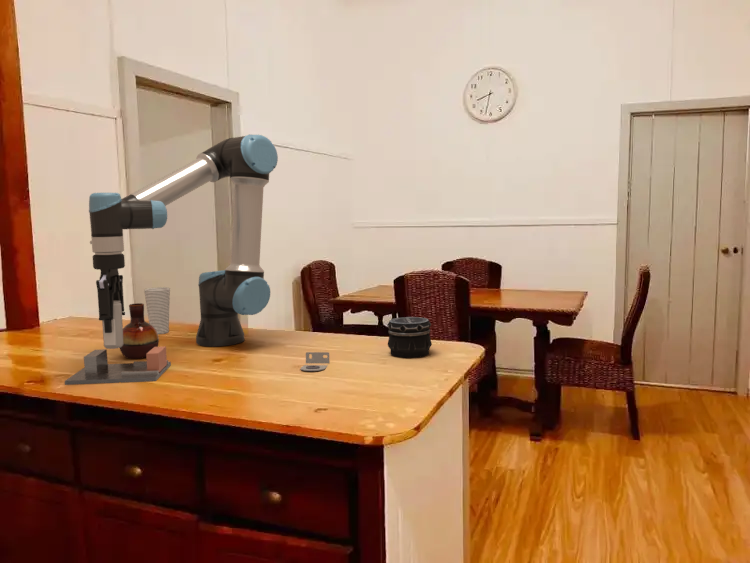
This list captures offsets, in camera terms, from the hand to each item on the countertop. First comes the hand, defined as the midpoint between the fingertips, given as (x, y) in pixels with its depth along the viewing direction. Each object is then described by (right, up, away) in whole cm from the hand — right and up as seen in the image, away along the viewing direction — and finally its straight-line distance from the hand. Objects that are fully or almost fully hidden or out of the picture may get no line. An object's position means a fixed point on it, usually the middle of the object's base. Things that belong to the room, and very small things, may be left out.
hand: (114, 342), depth 164 cm
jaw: (+11, -7, +2) cm, 13 cm away
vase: (-1, -6, +22) cm, 23 cm away
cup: (-7, -2, +56) cm, 57 cm away
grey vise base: (0, -9, +1) cm, 9 cm away
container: (+78, -5, +18) cm, 80 cm away
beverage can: (0, -1, 0) cm, 1 cm away
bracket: (+52, -8, +5) cm, 53 cm away
